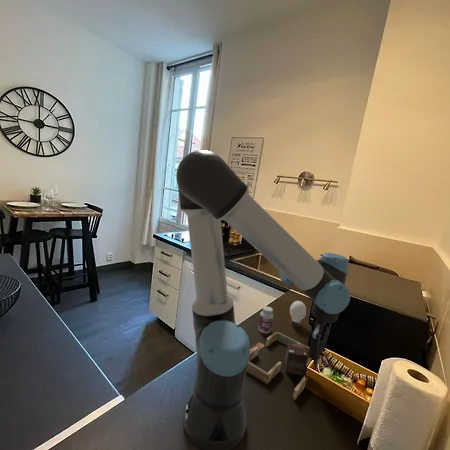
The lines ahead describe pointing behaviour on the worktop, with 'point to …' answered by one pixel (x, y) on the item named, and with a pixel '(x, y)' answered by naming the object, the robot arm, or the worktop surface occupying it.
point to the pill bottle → (265, 320)
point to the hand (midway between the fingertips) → (312, 374)
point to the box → (296, 359)
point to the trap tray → (271, 374)
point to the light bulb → (297, 313)
